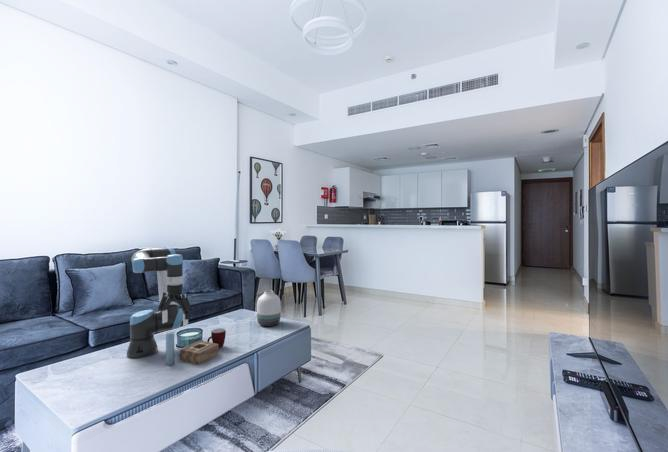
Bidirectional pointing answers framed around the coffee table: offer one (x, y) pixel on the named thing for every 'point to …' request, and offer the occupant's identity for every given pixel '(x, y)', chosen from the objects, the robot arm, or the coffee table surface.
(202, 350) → the socket block
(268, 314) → the vase
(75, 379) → the coffee table surface
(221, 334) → the mug
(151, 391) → the coffee table surface
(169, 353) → the peg
